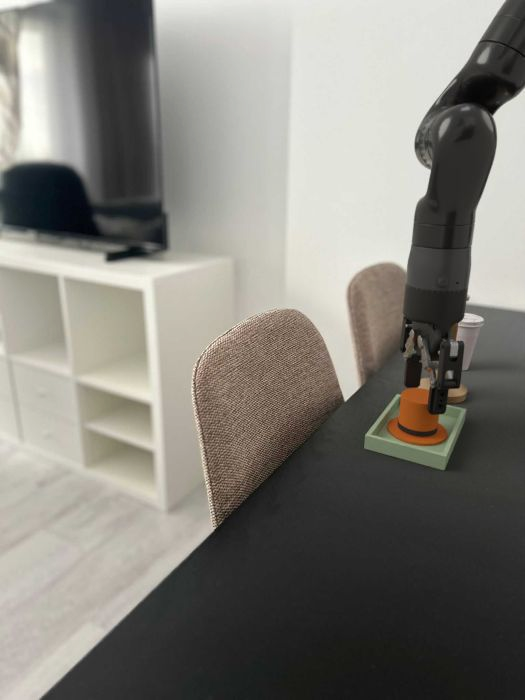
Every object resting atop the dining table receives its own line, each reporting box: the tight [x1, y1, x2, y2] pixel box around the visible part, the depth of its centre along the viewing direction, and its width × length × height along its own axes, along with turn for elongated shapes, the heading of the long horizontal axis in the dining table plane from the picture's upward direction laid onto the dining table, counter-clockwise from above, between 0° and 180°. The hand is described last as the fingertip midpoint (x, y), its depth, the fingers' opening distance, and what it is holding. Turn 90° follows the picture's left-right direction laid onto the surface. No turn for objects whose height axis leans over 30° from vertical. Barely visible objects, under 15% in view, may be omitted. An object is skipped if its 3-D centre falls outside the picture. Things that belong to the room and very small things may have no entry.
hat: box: [387, 388, 447, 446], centre depth 70 cm, size 8×8×5 cm
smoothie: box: [456, 312, 485, 372], centre depth 93 cm, size 6×6×14 cm
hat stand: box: [417, 293, 471, 405], centre depth 82 cm, size 8×8×17 cm
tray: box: [363, 393, 468, 471], centre depth 71 cm, size 15×10×2 cm
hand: (422, 399), depth 69 cm, fingers open, 8 cm apart
